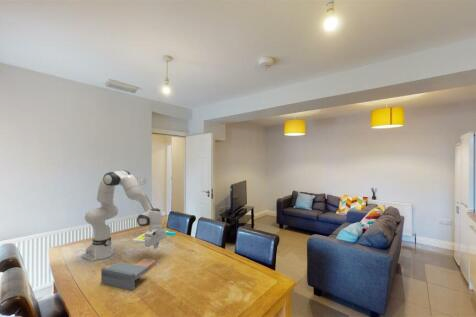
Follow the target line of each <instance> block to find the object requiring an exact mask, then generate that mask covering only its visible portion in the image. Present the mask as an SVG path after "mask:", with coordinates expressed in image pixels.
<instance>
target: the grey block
mask: <svg viewBox="0 0 476 317" xmlns="http://www.w3.org/2000/svg"><path fill="white" fill-rule="evenodd" d="M100 271H101V274H100V276H101V278H100V279H101V280H100V282H101V285H102V284H103V285H107V286H110V287H116V288H120V289H124V290H129V291H134V290H135V287H136V286H135V285H136V282H135V281H136V280H137V279H139V278H140V277H141V276H143V275H145V274H146V273H147V272H148V271H149V270H148V267H145V266H139V265H136V264H133V263H128V262H123V261H118V262H116V263H114V264H112V265H110V266H109V267H102V268H101V270H100Z"/></svg>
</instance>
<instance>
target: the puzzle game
mask: <svg viewBox="0 0 476 317" xmlns="http://www.w3.org/2000/svg"><path fill="white" fill-rule="evenodd" d="M165 231H166V236H173V237H174V236H177V234H176V233H177V232H176V231H170V230H165ZM131 243H133V244H142V245H143V244H144V245H145V232H144V233H143V234H140V235H139V236H136V237H135V238H132V239H131Z"/></svg>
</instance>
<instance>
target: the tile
mask: <svg viewBox="0 0 476 317" xmlns="http://www.w3.org/2000/svg"><path fill="white" fill-rule="evenodd" d="M135 265H139V266H145V267H148V271H149V270H151V269H152V268H154V267H155V266H156V265H157V259H149V258H143V259H142V260H140V261H139V262H137V263H135Z"/></svg>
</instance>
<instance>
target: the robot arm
mask: <svg viewBox="0 0 476 317" xmlns="http://www.w3.org/2000/svg"><path fill="white" fill-rule="evenodd" d="M116 186H122V188H123V190H124V192H125V195H126V197H127V199H130V200H132V201H136V202H139V204H141V206H142V209H143V210H144V212H143V213H141V214H139V215H138V216H137V218H136V223H137V226H140V227H147V226H149V227H148V229H147V230H146V231H145V232H144V233H145V244H144V246H145V247H147V248H150V247H153V249H154V250H156V249H157V248H159V245H160V242H161V241H163V240H164V239H166V237H167V235H166V231H167V230H166V228H165V227H164V226H163V225H162V220H163V219H162V217H163V216H162V211H161V209H160V208H156V207H155V208H154V207H153V205H152V203H151V202H150V200H149V197H148V196H147V195H146V194H145V193H144V191H143V190H142V188H141V186H140V183H139V181H138V180H137V178H136V176H135V175H133V174H132V173H131V172H130V171H128V170H124V169H123V170H115V171H110V172H107V173H105V174H104V176H103V177H102V178H101V180H100V182H99V184H98V189H97V195H96V201H97V202H98V203H100V207H96V208H94V209H93V208H92V209H91V210H89V211H86V213H85V216H84V220H85V222H86V223H88V224H89V225H91V227H92V229H93V239H91V242H92V243H91V244H90V245H89V246H87V248H86V249H85V253H84V254H82V255H81V257H82V258H83V259H86V260H88V261H90V262H93V261H97V260H104V259H106V258H109V257H111V256H113V255H114V253H113V252H114V249H113V246H112V245H113V243H112V236H111V227H110V226H109V225H107V224H106V221H107V220H110V219H113V218H114V217H116V216H117V215H118V213H119V209H118V207H117V206H116V205H115V203H114V194H115V188H116Z"/></svg>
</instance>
